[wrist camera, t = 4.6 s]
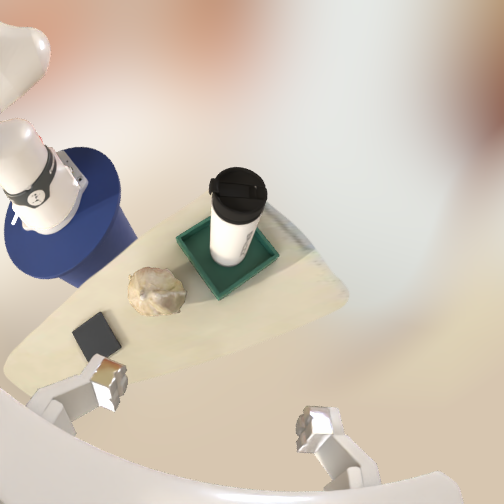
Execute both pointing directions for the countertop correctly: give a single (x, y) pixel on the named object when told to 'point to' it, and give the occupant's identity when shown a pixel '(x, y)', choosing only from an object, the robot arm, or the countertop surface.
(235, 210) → the travel mug
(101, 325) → the mat
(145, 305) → the garlic bulb
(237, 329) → the countertop surface
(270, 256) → the tray
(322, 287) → the countertop surface
